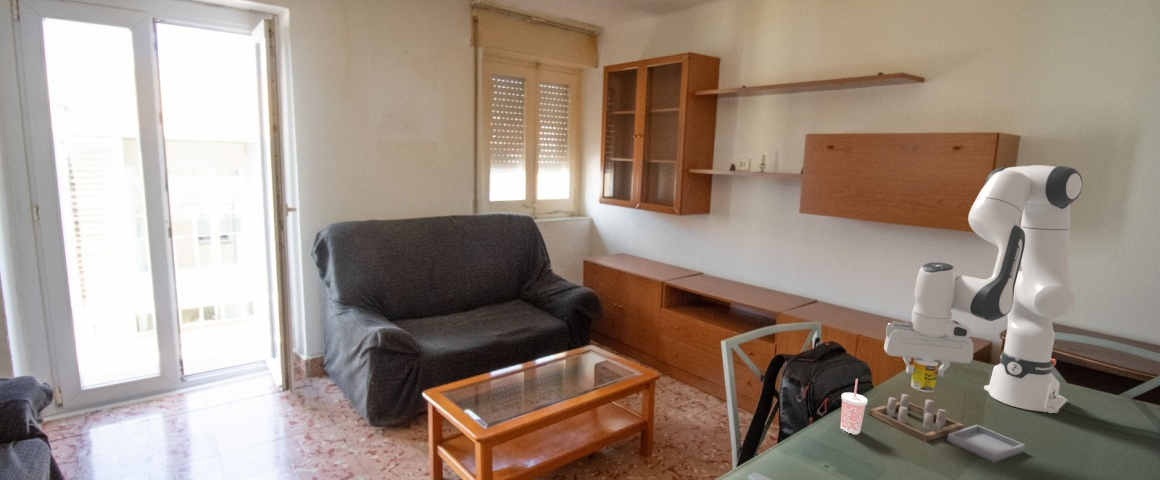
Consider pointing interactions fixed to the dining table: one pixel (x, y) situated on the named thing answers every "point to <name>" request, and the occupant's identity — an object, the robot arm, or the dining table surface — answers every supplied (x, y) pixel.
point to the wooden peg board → (926, 412)
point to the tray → (986, 443)
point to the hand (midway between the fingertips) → (924, 374)
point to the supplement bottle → (924, 374)
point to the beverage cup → (852, 411)
